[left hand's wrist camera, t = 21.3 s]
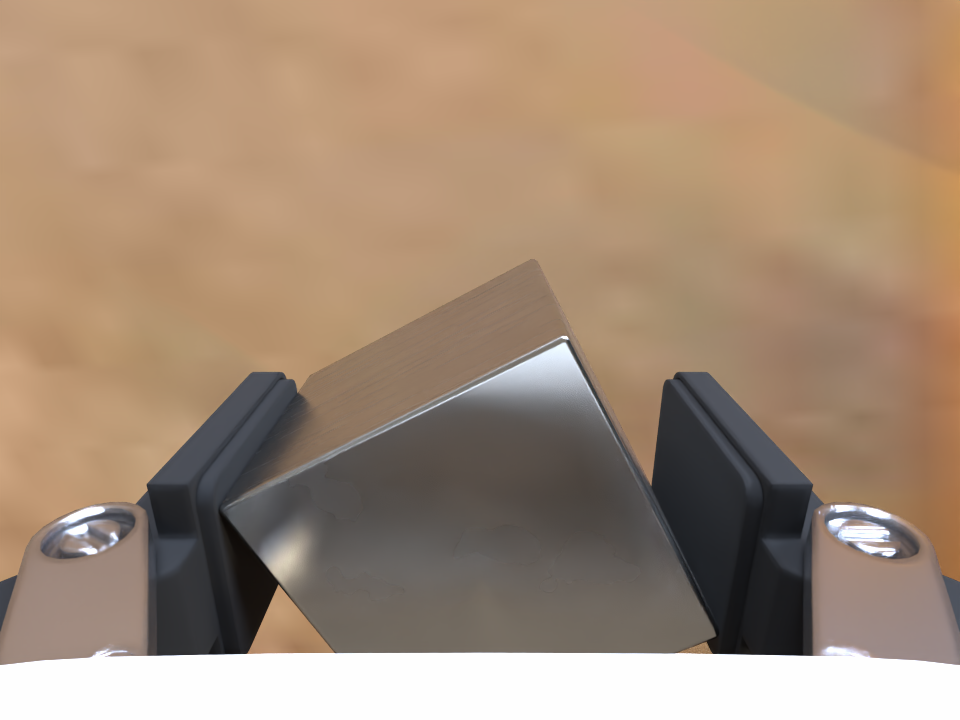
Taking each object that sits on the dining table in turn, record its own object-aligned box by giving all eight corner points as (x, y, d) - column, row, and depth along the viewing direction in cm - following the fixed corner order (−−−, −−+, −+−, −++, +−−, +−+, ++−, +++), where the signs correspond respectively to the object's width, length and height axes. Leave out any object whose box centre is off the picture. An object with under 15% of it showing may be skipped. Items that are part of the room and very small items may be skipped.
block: (436, 561, 14) (416, 756, 9) (307, 375, 12) (213, 509, 8) (643, 469, 13) (724, 638, 9) (534, 256, 11) (568, 332, 7)
